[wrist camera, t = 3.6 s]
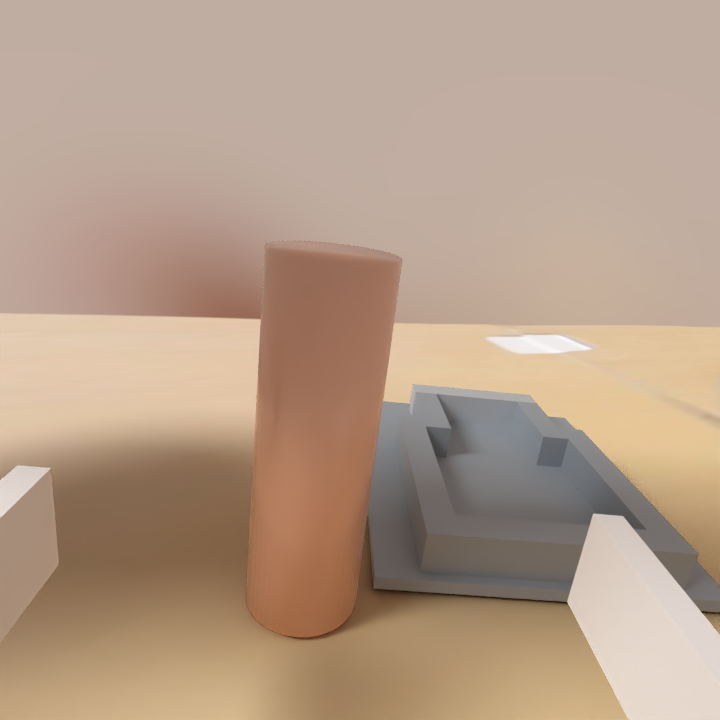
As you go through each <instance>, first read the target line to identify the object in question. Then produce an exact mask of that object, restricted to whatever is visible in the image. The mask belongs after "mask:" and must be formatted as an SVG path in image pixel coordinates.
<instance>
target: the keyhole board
mask: <svg viewBox="0 0 720 720" xmlns="http://www.w3.org/2000/svg"><path fill="white" fill-rule="evenodd" d="M593 514H604V515H616V516H623V517H624V518H625V519H626V520H627V522H628V523H629V524H630V525H631V527H632V528H633V529H634V530H635V531H636V533H637V534H638V535H639V536H640V538H641V539H642V540H643V541H644V542H645V544H646V545H647V546H648V547H649V549H650V550H651V551H652V552H653V553H654V555H655V556H656V557H657V558H658V560H659V561H660V562H661V563H662V564H663V566H664V567H665V568H666V569H667V571H668V572H669V573H670V574H671V575H672V577H673V578H674V579H675V580H676V582H677V583H678V584H679V585H680V587H681V588H682V589H683V590H684V591H685V593H686V594H687V595H688V596H689V598H690V599H691V600H692V601H693V602H694V604H695V605H696V606H697V607H698V609H699V610H700V611H708V612H720V586H719V585H718V584H717V583H716V582H715V580H714V579H713V578H712V577H711V576H710V575H709V574H708V573H707V572H706V571H705V570H704V569H703V567H702V566H701V565H700V564H699V563H698V562H697V561H696V559H697V557H698V553H697V552H696V551H695V550H694V549H693V548H692V547H691V545H690V544H689V543H688V542H687V541H686V540H685V539H684V538H683V537H682V536H681V535H680V534H679V533H678V532H677V531H676V530H675V529H674V527H673V526H672V525H671V524H670V523H669V522H668V521H667V520H666V519H665V518H664V517H663V516H662V515H661V514H660V513H659V512H658V511H657V510H656V508H655V507H654V506H653V505H652V504H651V503H650V502H649V501H648V500H647V499H646V498H645V497H644V496H643V495H642V494H641V493H640V492H639V490H638V489H637V488H636V487H635V486H634V485H633V484H632V483H631V482H630V481H629V480H628V479H627V478H626V477H625V476H624V475H623V474H622V472H621V471H620V470H619V469H618V468H617V467H616V466H615V465H614V464H613V463H612V462H611V461H610V460H609V459H608V458H607V457H606V456H605V454H604V453H603V452H602V451H601V450H600V449H599V448H598V447H597V446H596V445H595V444H594V443H593V442H592V441H591V440H590V439H589V438H588V436H587V435H586V434H585V433H584V432H583V431H582V430H575V429H574V428H573V426H572V425H571V424H570V423H569V422H568V421H567V420H566V419H565V418H558V417H548V416H547V415H546V414H545V413H544V412H543V410H542V409H541V408H540V407H539V406H538V405H537V403H536V402H535V401H534V400H533V399H532V398H531V396H530V395H522V394H511V393H500V392H490V391H479V390H469V389H458V388H447V387H437V386H426V385H415V384H413V387H412V394H411V400H410V404H405V403H394V402H383V405H382V413H381V420H380V427H379V435H378V442H377V449H376V457H375V464H374V471H373V479H372V486H371V493H370V500H369V508H368V524H369V538H370V551H371V565H372V578H373V589H387V590H402V591H417V592H431V593H446V594H460V595H475V596H489V597H504V598H518V599H533V600H548V601H562V602H567V600H568V597H569V594H570V590H571V587H572V583H573V580H574V577H575V573H576V570H577V567H578V563H579V560H580V556H581V553H582V550H583V546H584V543H585V540H586V536H587V533H588V529H589V526H590V523H591V519H592V516H593Z"/></svg>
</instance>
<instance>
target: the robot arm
mask: <svg viewBox="0 0 720 720" xmlns="http://www.w3.org/2000/svg"><path fill="white" fill-rule="evenodd" d="M58 565H59V556H58V544H57V532H56V520H55V508H54V496H53V485H52V473H51V468H45V467H33V466H21V465H17V466H16V467H15V468H14V469H12V470H11V471H10V472H9V473H8V474H7V475H6V476H4V477H3V478H2V479H1V480H0V643H1V642H2V641H3V639H4V638H5V636H6V635H7V634H8V632H9V631H10V630H11V628H12V627H13V626H14V624H15V623H16V622H17V620H18V619H19V618H20V616H21V615H22V614H23V612H24V611H25V610H26V608H27V607H28V606H29V604H30V603H31V602H32V600H33V599H34V598H35V596H36V595H37V593H38V592H39V591H40V589H41V588H42V587H43V585H44V584H45V583H46V581H47V580H48V579H49V577H50V576H51V575H52V573H53V572H54V571H55V569H56V568H57V567H58ZM567 603H568V605H569V606H570V608H571V610H572V612H573V614H574V616H575V618H576V620H577V622H578V624H579V626H580V628H581V630H582V631H583V633H584V635H585V637H586V639H587V641H588V643H589V645H590V647H591V649H592V651H593V653H594V655H595V656H596V658H597V660H598V662H599V664H600V666H601V668H602V670H603V672H604V674H605V676H606V678H607V680H608V681H609V683H610V685H611V687H612V689H613V691H614V693H615V695H616V697H617V699H618V701H619V703H620V705H621V706H622V708H623V710H624V712H625V714H626V716H627V718H628V720H720V634H719V633H718V632H717V631H716V629H715V628H714V627H713V626H712V624H711V623H710V622H709V621H708V620H707V618H706V617H705V616H704V615H703V613H702V612H701V611H700V610H699V609H698V607H697V606H696V605H695V604H694V602H693V601H692V600H691V599H690V598H689V596H688V595H687V594H686V593H685V591H684V590H683V589H682V588H681V587H680V585H679V584H678V583H677V582H676V580H675V579H674V578H673V577H672V575H671V574H670V573H669V572H668V571H667V569H666V568H665V567H664V566H663V564H662V563H661V562H660V561H659V560H658V558H657V557H656V556H655V555H654V553H653V552H652V551H651V550H650V549H649V547H648V546H647V545H646V544H645V542H644V541H643V540H642V539H641V538H640V536H639V535H638V534H637V533H636V531H635V530H634V529H633V528H632V527H631V525H630V524H629V523H628V522H627V520H626V519H625V518H624V517H623V516H616V515H604V514H593V516H592V519H591V523H590V526H589V529H588V533H587V536H586V540H585V543H584V546H583V550H582V553H581V556H580V560H579V563H578V567H577V570H576V573H575V577H574V580H573V583H572V587H571V590H570V594H569V597H568V600H567Z"/></svg>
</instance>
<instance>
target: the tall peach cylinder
mask: <svg viewBox="0 0 720 720" xmlns="http://www.w3.org/2000/svg"><path fill="white" fill-rule="evenodd" d="M401 267H402V259H401V258H400V257H398V256H396V255H394V254H390V253H387V252H383V251H379V250H374V249H369V248H364V247H358V246H351V245H344V244H335V243H324V242H312V241H275V242H269V243H267V244H265V253H264V272H263V292H262V293H263V294H262V309H261V310H262V311H261V328H260V346H259V365H258V383H257V402H256V420H255V439H254V457H253V476H252V495H251V513H250V532H249V550H248V569H247V587H246V601H247V605H248V608H249V610H250V612H251V614H252V615H253V616H254V618H255V619H256V620H257V621H258V622H259V623H260V624H262V625H263V626H264V627H266V628H267V629H269V630H271V631H273V632H276V633H279V634H281V635H285V636H290V637H314V636H318V635H322V634H325V633H328V632H330V631H332V630H334V629H336V628H337V627H339V626H340V625H342V624H343V623H344V622H345V621H346V620H347V619H348V618H349V616H350V615H351V613H352V611H353V609H354V607H355V602H356V595H357V588H358V581H359V573H360V566H361V559H362V552H363V544H364V537H365V530H366V522H367V515H368V508H369V500H370V493H371V486H372V479H373V471H374V464H375V457H376V449H377V442H378V435H379V427H380V420H381V413H382V405H383V398H384V391H385V384H386V376H387V369H388V362H389V354H390V347H391V340H392V332H393V325H394V317H395V310H396V303H397V296H398V289H399V281H400V274H401Z"/></svg>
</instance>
